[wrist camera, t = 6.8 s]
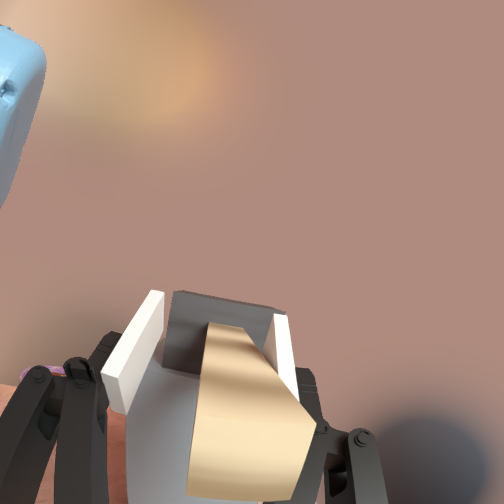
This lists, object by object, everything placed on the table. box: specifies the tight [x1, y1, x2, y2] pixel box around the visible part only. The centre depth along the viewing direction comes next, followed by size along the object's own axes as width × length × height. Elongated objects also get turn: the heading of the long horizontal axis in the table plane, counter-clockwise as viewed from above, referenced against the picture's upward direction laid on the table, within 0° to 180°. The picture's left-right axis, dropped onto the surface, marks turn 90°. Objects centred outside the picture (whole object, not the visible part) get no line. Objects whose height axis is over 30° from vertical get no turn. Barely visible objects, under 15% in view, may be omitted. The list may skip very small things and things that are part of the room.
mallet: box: [162, 290, 317, 502], centre depth 18 cm, size 26×10×7 cm, turn 8°
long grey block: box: [126, 338, 258, 504], centre depth 26 cm, size 14×14×30 cm
